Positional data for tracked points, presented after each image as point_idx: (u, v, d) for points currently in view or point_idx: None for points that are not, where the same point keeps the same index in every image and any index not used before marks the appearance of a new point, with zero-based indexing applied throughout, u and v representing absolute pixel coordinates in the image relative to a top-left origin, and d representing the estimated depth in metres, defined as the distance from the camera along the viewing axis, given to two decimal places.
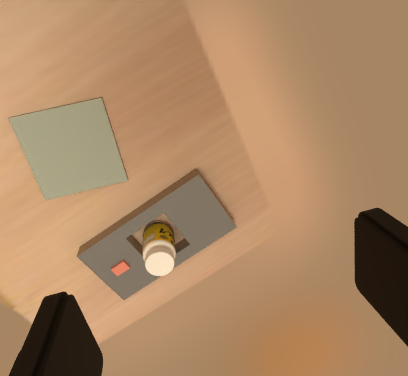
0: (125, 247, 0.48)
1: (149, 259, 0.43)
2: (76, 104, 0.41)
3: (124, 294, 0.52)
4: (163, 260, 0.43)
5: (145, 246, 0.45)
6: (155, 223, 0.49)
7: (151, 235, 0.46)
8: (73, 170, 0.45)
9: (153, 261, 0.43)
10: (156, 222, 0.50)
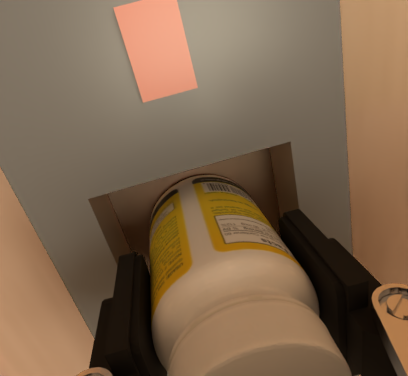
0: (251, 123, 0.10)
1: (330, 372, 0.07)
2: None
3: None
4: None
5: (312, 284, 0.09)
6: None
7: None
8: None
9: None
10: None
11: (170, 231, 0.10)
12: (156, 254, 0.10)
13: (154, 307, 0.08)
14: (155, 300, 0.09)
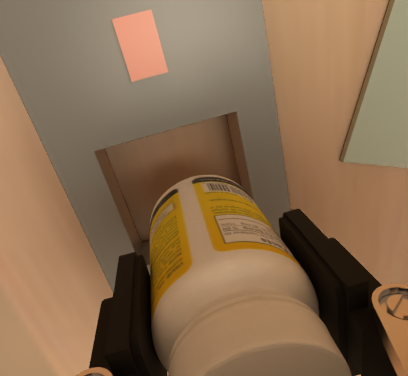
0: (207, 98, 0.15)
1: (330, 371, 0.07)
2: None
3: None
4: None
5: None
6: None
7: None
8: None
9: None
10: None
11: (170, 231, 0.10)
12: (156, 254, 0.10)
13: (154, 307, 0.08)
14: (155, 300, 0.09)
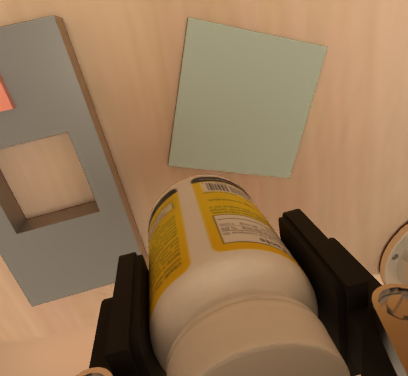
0: (46, 124, 0.23)
1: (328, 371, 0.06)
2: (297, 145, 0.30)
3: None
4: None
5: None
6: None
7: None
8: (218, 94, 0.27)
9: None
10: None
11: (168, 231, 0.10)
12: (154, 254, 0.10)
13: (152, 307, 0.08)
14: (153, 300, 0.09)
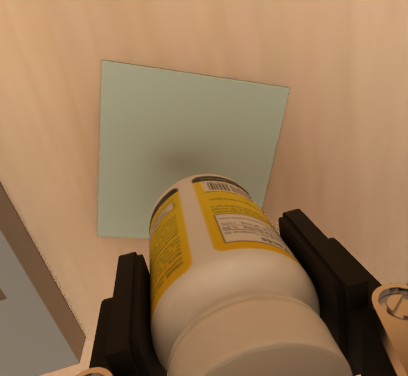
0: None
1: (331, 371, 0.06)
2: (260, 205, 0.24)
3: None
4: None
5: (312, 283, 0.09)
6: None
7: None
8: (151, 151, 0.21)
9: None
10: None
11: (169, 230, 0.10)
12: (155, 253, 0.10)
13: (153, 306, 0.08)
14: (154, 299, 0.09)
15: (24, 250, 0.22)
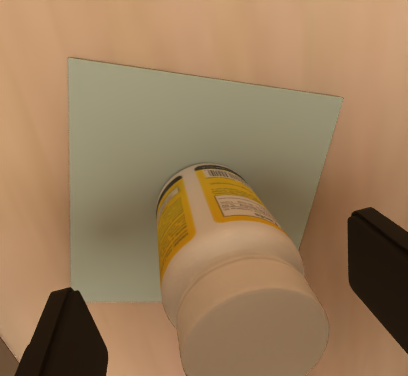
0: None
1: (309, 314, 0.08)
2: None
3: None
4: (270, 367, 0.09)
5: None
6: None
7: None
8: (145, 188, 0.15)
9: (290, 328, 0.08)
10: None
11: (175, 210, 0.12)
12: (163, 230, 0.12)
13: (163, 271, 0.10)
14: (164, 265, 0.10)
15: None
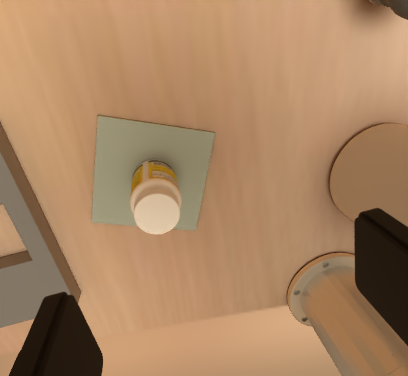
0: None
1: (172, 203, 0.27)
2: (199, 205, 0.37)
3: None
4: (161, 221, 0.28)
5: (178, 190, 0.29)
6: None
7: None
8: (127, 169, 0.34)
9: (166, 208, 0.27)
10: None
11: (137, 176, 0.31)
12: (132, 183, 0.31)
13: (131, 195, 0.29)
14: (131, 193, 0.29)
15: (44, 230, 0.34)
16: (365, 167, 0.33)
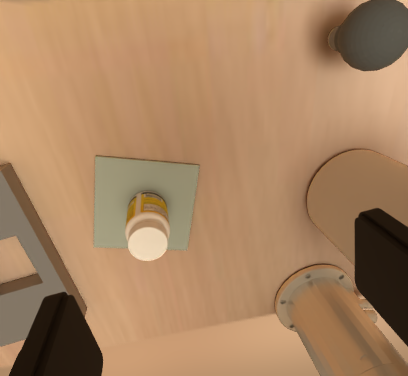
0: (1, 231, 0.35)
1: (160, 235, 0.32)
2: (189, 228, 0.42)
3: None
4: (152, 250, 0.32)
5: (166, 221, 0.34)
6: None
7: None
8: (123, 200, 0.39)
9: (155, 238, 0.32)
10: None
11: (131, 208, 0.35)
12: (127, 215, 0.35)
13: None
14: (126, 225, 0.34)
15: (52, 255, 0.39)
16: (333, 192, 0.37)
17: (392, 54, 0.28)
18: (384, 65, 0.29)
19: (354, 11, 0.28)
